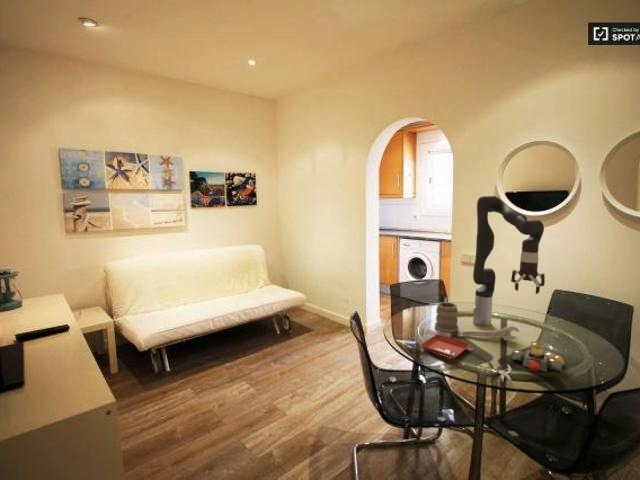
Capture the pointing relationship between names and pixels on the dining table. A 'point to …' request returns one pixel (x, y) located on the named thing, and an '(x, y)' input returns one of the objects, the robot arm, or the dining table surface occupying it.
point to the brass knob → (536, 350)
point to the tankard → (446, 317)
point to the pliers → (505, 374)
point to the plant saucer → (445, 345)
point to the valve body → (536, 361)
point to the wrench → (492, 333)
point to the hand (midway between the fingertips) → (526, 292)
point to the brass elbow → (555, 357)
